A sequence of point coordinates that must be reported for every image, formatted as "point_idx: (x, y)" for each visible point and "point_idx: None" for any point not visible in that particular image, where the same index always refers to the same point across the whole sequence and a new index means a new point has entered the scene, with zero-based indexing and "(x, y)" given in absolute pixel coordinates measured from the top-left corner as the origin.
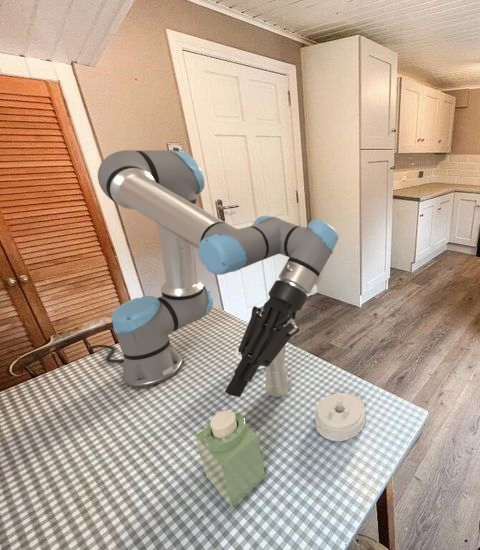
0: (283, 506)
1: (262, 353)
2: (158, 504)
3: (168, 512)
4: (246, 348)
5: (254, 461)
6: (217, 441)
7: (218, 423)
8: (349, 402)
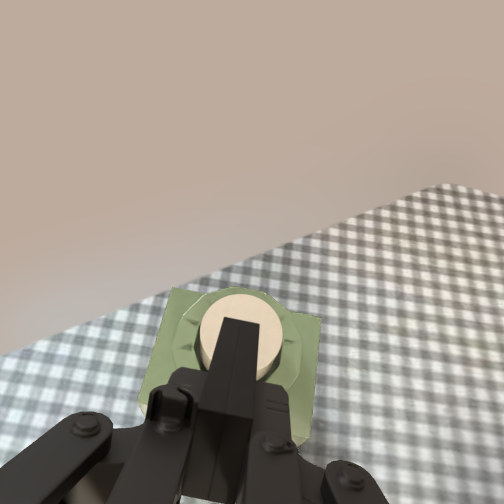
0: (67, 400)
1: (62, 473)
2: (319, 292)
3: (287, 291)
4: (292, 491)
5: None
6: (216, 300)
7: (241, 313)
8: None
